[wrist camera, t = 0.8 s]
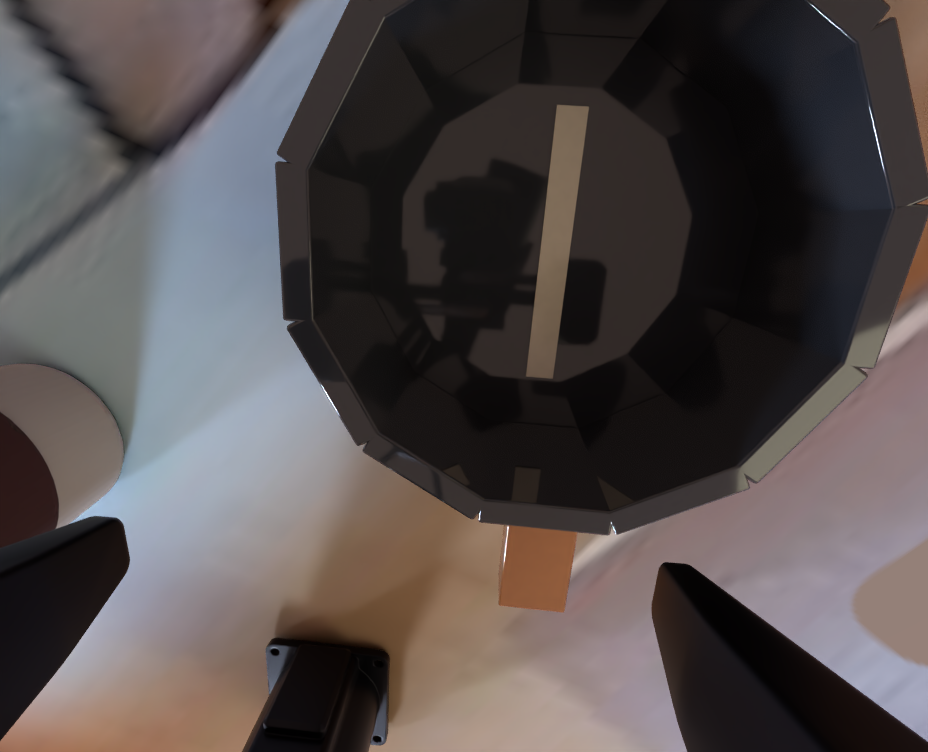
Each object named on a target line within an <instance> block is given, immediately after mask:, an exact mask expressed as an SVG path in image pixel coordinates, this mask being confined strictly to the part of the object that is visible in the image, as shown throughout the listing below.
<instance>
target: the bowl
mask: <svg viewBox="0 0 928 752" xmlns="http://www.w3.org/2000/svg"><path fill="white" fill-rule="evenodd" d="M889 9H890V6H889V5H888V4H887V3H886V2H885V1H884V0H350V1H349V3H348V5H347V7H346V9H345V11H344V13H343V16H342V18H341V20H340V22H339V24H338V26H337V28H336V30H335V32H334V34H333V36H332V38H331V41H330V43H329V45H328V47H327V49H326V51H325V53H324V55H323V57H322V59H321V61H320V63H319V66H318V68H317V70H316V72H315V74H314V76H313V78H312V80H311V82H310V84H309V86H308V88H307V91H306V93H305V95H304V97H303V99H302V101H301V103H300V105H299V107H298V109H297V111H296V113H295V116H294V118H293V120H292V122H291V124H290V126H289V128H288V130H287V132H286V134H285V136H284V138H283V141H282V143H281V145H280V147H279V149H278V151H277V154H278V156H280V157H281V158H283V159H284V160H285V161H287V162H281V161H278V162H276V164H275V170H276V189H277V208H278V227H279V246H280V265H281V284H282V304H283V319H284V320H286V321H295V322H293V323H291V324H289V325H288V326H287V330H288V331H289V333H290V335H291V336H292V338H293V340H294V342H295V343H296V345H297V347H298V348H299V350H300V352H301V353H302V355H303V357H304V358H305V360H306V362H307V363H308V365H309V367H310V368H311V370H312V372H313V373H314V375H315V377H316V378H317V380H318V382H319V383H320V385H321V387H322V388H323V390H324V392H325V393H326V395H327V397H328V398H329V400H330V402H331V403H332V405H333V407H334V408H335V410H336V412H337V413H338V415H339V417H340V418H341V420H342V422H343V423H344V425H345V427H346V428H347V430H348V432H349V433H350V435H351V437H352V439H353V440H354V442H355V444H356V445H357V446H359V445H362V444H365V443H366V444H365V446H364V447H363V452H364V453H365V454H367V455H369V456H370V457H372V458H373V459H375V460H377V461H378V462H380V463H381V464H383V465H385V466H386V467H388V468H389V469H391V470H393V471H394V472H396V473H398V474H399V475H401V476H402V477H404V478H406V479H407V480H409V481H410V482H412V483H414V484H415V485H417V486H418V487H420V488H422V489H423V490H425V491H426V492H428V493H430V494H431V495H433V496H435V497H436V498H438V499H439V500H441V501H443V502H444V503H446V504H447V505H449V506H451V507H452V508H454V509H455V510H457V511H459V512H460V513H462V514H463V515H465V516H467V517H468V518H470V519H474V518H475V517H476V516H477V514H478V513H479V515H478V520H479V522H481V523H490V524H500V525H504V530H503V539H502V548H501V557H500V566H499V605H500V606H508V607H517V608H526V609H535V610H545V611H554V612H564V611H565V605H566V599H567V593H568V587H569V581H570V575H571V569H572V563H573V557H574V551H575V545H576V539H577V534H578V532H579V533H589V534H599V535H610V532H611V527H612V528H613V530H614V532H615V533H616V534H621V533H624V532H627V531H630V530H633V529H635V528H638V527H641V526H644V525H647V524H650V523H653V522H656V521H658V520H661V519H664V518H667V517H670V516H673V515H676V514H679V513H681V512H684V511H687V510H690V509H693V508H696V507H699V506H702V505H704V504H707V503H710V502H713V501H716V500H719V499H722V498H725V497H728V496H730V495H733V494H736V493H739V492H742V491H745V490H748V489H749V488H750V486H749V483H748V480H750V481H751V482H753V483H758V482H759V481H760V480H762V479H763V478H764V477H765V476H766V475H767V474H768V473H769V472H770V471H771V470H772V469H773V468H774V467H775V466H776V465H777V464H778V463H779V462H780V461H781V460H782V459H783V458H784V457H785V456H786V455H787V454H789V453H790V452H791V451H792V450H793V449H794V448H795V447H796V446H797V445H798V444H799V443H800V442H801V441H802V440H803V439H804V438H805V437H806V436H807V435H808V434H809V433H810V432H811V431H812V430H813V429H814V428H815V427H817V426H818V425H819V424H820V423H821V422H822V421H823V420H824V419H825V418H826V417H827V416H828V415H829V414H830V413H831V412H832V411H833V410H834V409H835V408H836V407H837V406H838V405H839V404H840V403H841V402H842V401H844V400H845V399H846V398H847V397H848V396H849V395H850V394H851V393H852V392H853V391H854V390H855V389H856V388H857V387H858V386H859V385H860V384H861V383H862V382H863V381H864V380H865V379H866V378H867V377H868V375H867V373H866V372H864V371H863V370H862V369H860V368H864V369H873V368H874V367H875V365H876V362H877V359H878V357H879V354H880V351H881V348H882V345H883V342H884V340H885V337H886V334H887V331H888V328H889V326H890V323H891V320H892V317H893V314H894V311H895V309H896V306H897V303H898V300H899V297H900V295H901V292H902V289H903V286H904V283H905V280H906V278H907V275H908V272H909V269H910V266H911V264H912V261H913V258H914V255H915V252H916V249H917V247H918V244H919V241H920V238H921V235H922V232H923V230H924V227H925V224H926V221H927V218H928V205H927V204H917V203H920V202H922V201H924V200H927V199H928V172H927V167H926V162H925V157H924V153H923V148H922V143H921V138H920V133H919V128H918V123H917V118H916V113H915V108H914V103H913V98H912V94H911V89H910V84H909V79H908V74H907V69H906V64H905V59H904V54H903V49H902V44H901V39H900V35H899V30H898V25H897V20H896V18H895V17H890V18H888V19H886V20H884V21H882V22H880V21H881V19H882V18H883V17H884V16H885V15H886V13H887V12H888V11H889ZM879 22H880V23H879ZM747 479H748V480H747Z"/></svg>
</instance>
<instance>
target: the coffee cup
mask: <svg viewBox="0 0 928 752" xmlns="http://www.w3.org/2000/svg"><path fill="white" fill-rule="evenodd" d="M123 458H124V449H123V440H122V437H121V434H120V431H119V428H118V426H117V423H116V421H115V419H114V417H113V416H112V414H111V412H110V411H109V410H108V408H107V407H106V405H105V404H104V403H103V402H102V400H101V399H100V398H99V397H98V396H97V395H96V394H95V393H94V392H93V391H92V390H90V389H89V388H88V387H87V386H85V385H84V384H82V383H81V382H80V381H78V380H77V379H75V378H73V377H72V376H70V375H68V374H66V373H64V372H61V371H59V370H57V369H53V368H50V367H47V366H42V365H37V364H22V363H21V364H10V365H3V366H0V548H2V547H4V546H7V545H10V544H13V543H16V542H19V541H22V540H25V539H28V538H31V537H33V536H36V535H39V534H42V533H45V532H48V531H51V530H54V529H57V528H60V527H63V526H65V525H68V524H69V523H71V522H72V521H73V520H74V519H76V518H77V517H78V516H79V515H81V514H82V513H83V512H84V511H86V510H87V509H88V508H89V507H91V506H92V505H93V504H94V503H96V502H97V501H98V500H99V499H101V498H102V497H103V496H104V495H105V494H106V493H107V492H108V491H109V490H110V489H111V488H112V487H113V486H114V484H115V483H116V481H117V479H118V477H119V475H120V473H121V469H122V465H123Z"/></svg>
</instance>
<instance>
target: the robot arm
mask: <svg viewBox="0 0 928 752" xmlns="http://www.w3.org/2000/svg"><path fill="white" fill-rule="evenodd" d="M129 563H130V556H129V551H128V546H127V540H126V535H125V530H124V526H123V523H122V522H121V521H120V520H119V519H117V518H113V517H101V516H93V517H89V518H86V519H83V520H80V521H77V522H74V523H71V524H68V525H65V526H63V527H60V528H57V529H54V530H51V531H48V532H45V533H42V534H39V535H36V536H33V537H31V538H28V539H25V540H22V541H19V542H16V543H13V544H10V545H7V546H4V547H2V548H0V741H1V739H2V738H3V737H4V736H5V734H6V733H7V732H8V731H9V730H10V728H11V727H12V726H13V725H14V723H15V722H16V721H17V720H18V719H19V717H20V716H21V715H22V714H23V712H24V711H25V710H26V709H27V708H28V706H29V705H30V704H31V703H32V701H33V700H34V699H35V698H36V696H37V695H38V694H39V693H40V692H41V690H42V689H43V688H44V687H45V685H46V684H47V683H48V682H49V681H50V679H51V678H52V677H53V676H54V674H55V673H56V672H57V670H58V669H59V668H60V667H61V665H62V664H63V663H64V661H65V660H66V659H67V657H68V656H69V655H70V653H71V652H72V650H73V649H74V648H75V646H76V645H77V643H78V642H79V640H80V639H81V638H82V636H83V635H84V633H85V632H86V630H87V629H88V628H89V626H90V625H91V623H92V622H93V620H94V619H95V617H96V616H97V615H98V613H99V612H100V610H101V609H102V607H103V606H104V604H105V603H106V602H107V600H108V599H109V597H110V596H111V594H112V593H113V592H114V590H115V589H116V587H117V586H118V584H119V583H120V581H121V580H122V579H123V577H124V576H125V574H126V572H127V570H128V567H129ZM652 619H653V623H654V628H655V632H656V636H657V640H658V644H659V648H660V653H661V657H662V661H663V665H664V669H665V673H666V678H667V682H668V686H669V690H670V694H671V698H672V703H673V707H674V710H675V714H676V718H677V722H678V725H679V728H680V731H681V734H682V737H683V740H684V743H685V746H686V749H687V752H928V742H927V741H926V740H924V739H923V738H922V737H920V736H919V735H918V734H916V733H915V732H914V731H912V730H911V729H910V728H908V727H907V726H906V725H904V724H903V723H902V722H900V721H899V720H898V719H896V718H895V717H894V716H892V715H891V714H889V713H888V712H887V711H885V710H884V709H883V708H881V707H880V706H879V705H877V704H876V703H875V702H873V701H872V700H871V699H869V698H868V697H867V696H865V695H864V694H863V693H861V692H860V691H859V690H857V689H856V688H855V687H853V686H852V685H851V684H849V683H848V682H846V681H845V680H844V679H842V678H841V677H840V676H838V675H837V674H836V673H834V672H833V671H832V670H830V669H829V668H828V667H826V666H825V665H824V664H822V663H821V662H820V661H818V660H817V659H816V658H814V657H813V656H812V655H810V654H809V653H807V652H806V651H805V650H803V649H802V648H801V647H799V646H798V645H797V644H795V643H794V642H793V641H791V640H790V639H789V638H787V637H786V636H785V635H783V634H782V633H781V632H779V631H778V630H777V629H775V628H774V627H773V626H771V625H770V624H768V623H767V622H766V621H764V620H763V619H762V618H760V617H759V616H758V615H756V614H755V613H754V612H752V611H751V610H750V609H748V608H747V607H746V606H744V605H743V604H742V603H740V602H739V601H738V600H736V599H735V598H734V597H732V596H731V595H729V594H728V593H727V592H725V591H724V590H723V589H721V588H720V587H719V586H717V585H716V584H715V583H713V582H712V581H711V580H709V579H708V578H707V577H705V576H704V575H703V574H701V573H700V572H699V571H697V570H696V569H695V568H693V567H692V566H690V565H688V564H681V563H669V562H665V563H663V564H662V565H661V566H660V568H659V571H658V576H657V581H656V586H655V591H654V596H653V600H652ZM379 660H380V661H379ZM266 661H267V673H268V685H269V697H268V699H267V701H266V703H265V705H264V708H263V710H262V712H261V714H260V716H259V718H258V720H257V722H256V724H255V726H254V728H253V730H252V732H251V734H250V736H249V738H248V740H247V742H246V744H245V746H244V749H243V751H242V752H368V751H369V747H370V745H383V744H384V743H385V742H386V739H387V734H388V706H389V665H390V658H389V655H388V653H387V652H385V651H383V650H377V649H368V648H359V647H351V646H342V645H333V644H324V643H316V642H307V641H298V640H290V639H281V638H274V639H272V640H271V641H270V642H269V644H268V646H267V647H266Z"/></svg>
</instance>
